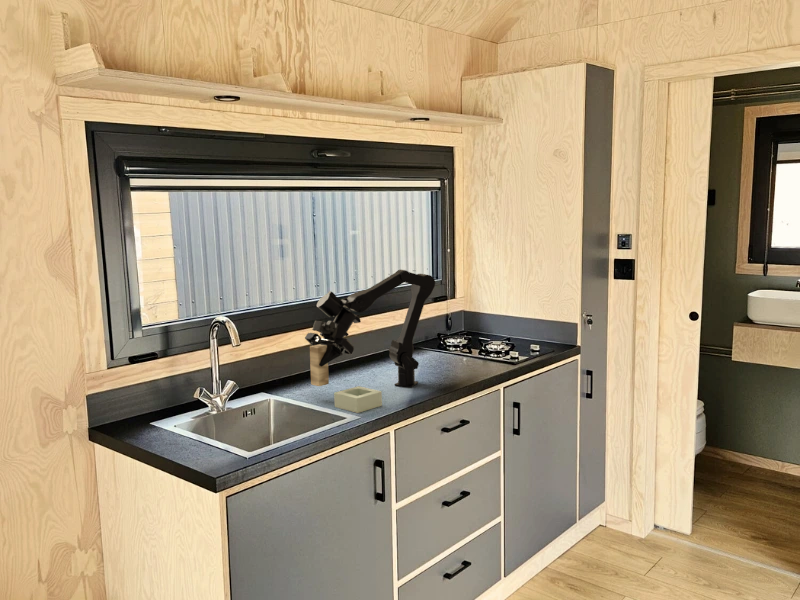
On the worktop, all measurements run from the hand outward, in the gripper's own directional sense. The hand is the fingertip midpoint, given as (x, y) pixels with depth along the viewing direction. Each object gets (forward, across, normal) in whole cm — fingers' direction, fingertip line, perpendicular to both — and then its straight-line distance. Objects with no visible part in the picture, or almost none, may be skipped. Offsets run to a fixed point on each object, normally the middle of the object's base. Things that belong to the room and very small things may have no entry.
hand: (315, 364), depth 228 cm
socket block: (+6, +15, +11) cm, 20 cm away
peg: (+4, 0, +6) cm, 7 cm away
